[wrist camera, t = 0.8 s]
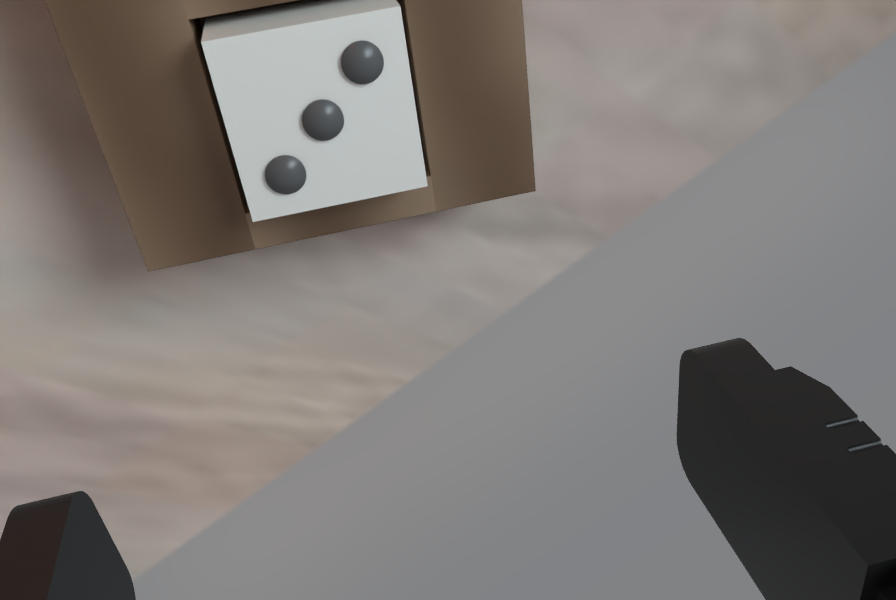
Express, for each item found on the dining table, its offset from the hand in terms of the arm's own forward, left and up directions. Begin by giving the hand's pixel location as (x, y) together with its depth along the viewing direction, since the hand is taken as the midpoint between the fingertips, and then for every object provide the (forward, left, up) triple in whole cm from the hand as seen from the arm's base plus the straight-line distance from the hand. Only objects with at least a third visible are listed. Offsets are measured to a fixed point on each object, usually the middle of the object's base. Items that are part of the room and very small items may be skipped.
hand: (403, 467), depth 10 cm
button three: (0, 0, -16) cm, 16 cm away
